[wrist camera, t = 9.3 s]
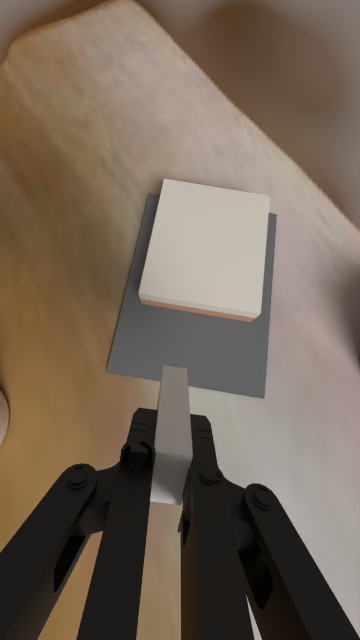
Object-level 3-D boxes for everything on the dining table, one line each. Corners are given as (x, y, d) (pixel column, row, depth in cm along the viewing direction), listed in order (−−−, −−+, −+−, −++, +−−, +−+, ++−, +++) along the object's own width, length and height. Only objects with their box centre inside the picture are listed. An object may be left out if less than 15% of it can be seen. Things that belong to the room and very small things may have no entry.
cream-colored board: (260, 313, 24) (269, 195, 28) (138, 293, 24) (164, 178, 28) (251, 322, 27) (260, 214, 31) (141, 303, 27) (164, 198, 31)
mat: (262, 398, 26) (264, 398, 25) (107, 372, 26) (106, 371, 25) (275, 216, 32) (276, 214, 31) (149, 195, 32) (149, 193, 31)
